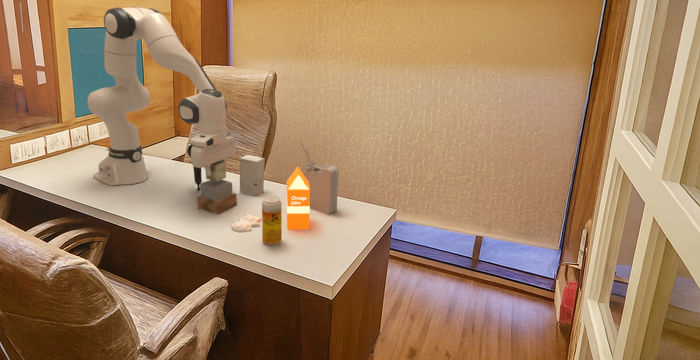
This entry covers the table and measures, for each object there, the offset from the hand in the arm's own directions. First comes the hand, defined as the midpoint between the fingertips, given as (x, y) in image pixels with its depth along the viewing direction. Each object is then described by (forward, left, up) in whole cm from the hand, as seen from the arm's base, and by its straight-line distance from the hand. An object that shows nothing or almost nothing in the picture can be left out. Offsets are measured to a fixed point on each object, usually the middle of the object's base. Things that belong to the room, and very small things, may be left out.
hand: (215, 172), depth 173 cm
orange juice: (+33, +3, -14) cm, 36 cm away
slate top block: (0, 0, -9) cm, 9 cm away
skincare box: (+2, +19, -14) cm, 24 cm away
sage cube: (0, 0, -2) cm, 2 cm away
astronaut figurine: (+19, -7, -14) cm, 24 cm away
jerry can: (+32, +19, -14) cm, 40 cm away
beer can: (+33, -13, -14) cm, 38 cm away
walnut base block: (0, 0, -14) cm, 14 cm away
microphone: (-17, +9, -14) cm, 24 cm away
